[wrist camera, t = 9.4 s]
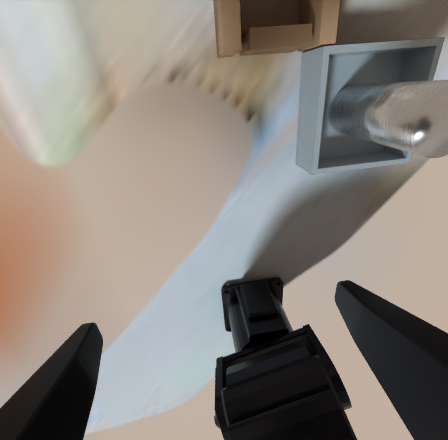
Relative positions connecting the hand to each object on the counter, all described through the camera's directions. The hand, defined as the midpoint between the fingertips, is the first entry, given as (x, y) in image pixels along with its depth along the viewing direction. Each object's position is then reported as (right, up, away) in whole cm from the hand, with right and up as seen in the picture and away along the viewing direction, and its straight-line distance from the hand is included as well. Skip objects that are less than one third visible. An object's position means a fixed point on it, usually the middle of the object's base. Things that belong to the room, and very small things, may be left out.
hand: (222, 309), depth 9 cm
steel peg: (+10, +12, +10) cm, 18 cm away
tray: (+10, +12, +10) cm, 18 cm away
